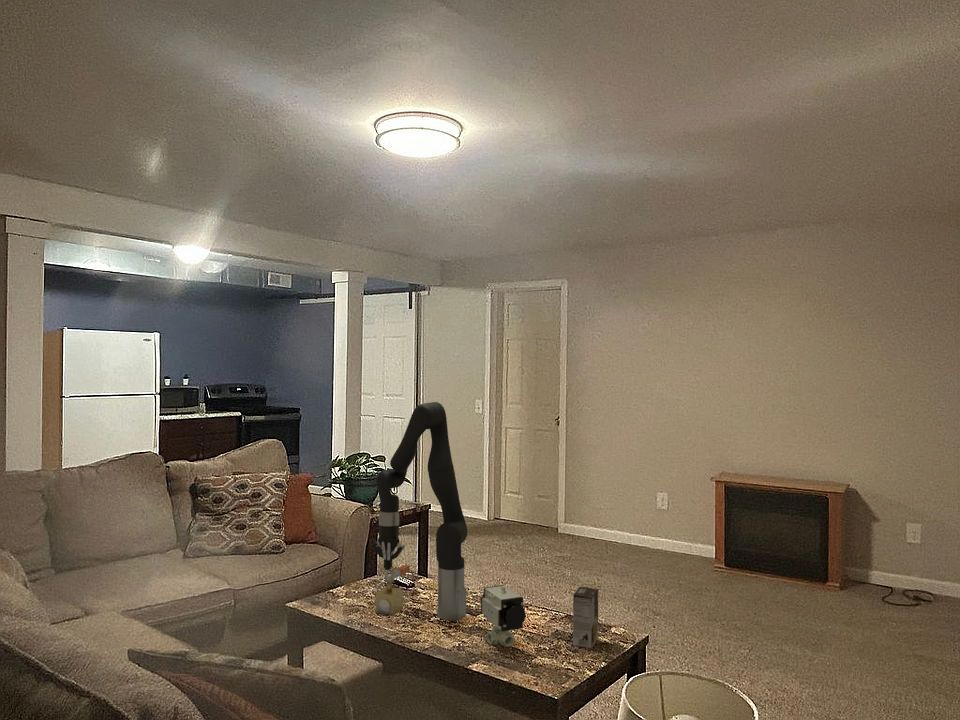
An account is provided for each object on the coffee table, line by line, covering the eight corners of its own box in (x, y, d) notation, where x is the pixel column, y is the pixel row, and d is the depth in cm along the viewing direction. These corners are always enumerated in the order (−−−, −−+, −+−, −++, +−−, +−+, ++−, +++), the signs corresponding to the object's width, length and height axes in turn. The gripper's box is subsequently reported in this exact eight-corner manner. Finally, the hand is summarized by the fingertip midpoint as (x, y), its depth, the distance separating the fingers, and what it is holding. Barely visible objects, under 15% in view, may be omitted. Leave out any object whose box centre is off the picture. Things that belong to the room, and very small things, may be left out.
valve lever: (391, 583, 251) (391, 575, 251) (383, 581, 252) (383, 574, 252) (410, 571, 264) (410, 565, 264) (403, 570, 266) (403, 564, 266)
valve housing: (403, 608, 256) (404, 579, 256) (391, 616, 247) (391, 586, 247) (387, 605, 258) (387, 577, 258) (373, 613, 250) (374, 584, 250)
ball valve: (476, 635, 231) (477, 580, 231) (499, 631, 235) (500, 577, 235) (501, 656, 215) (502, 597, 215) (526, 651, 218) (526, 594, 218)
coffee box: (579, 635, 232) (579, 585, 232) (598, 638, 230) (599, 588, 230) (571, 645, 224) (572, 594, 224) (591, 648, 221) (592, 597, 222)
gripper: (368, 523, 263) (367, 569, 263) (399, 527, 259) (398, 574, 259) (378, 519, 270) (377, 564, 270) (409, 522, 265) (408, 569, 265)
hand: (387, 569), depth 264 cm, fingers closed
